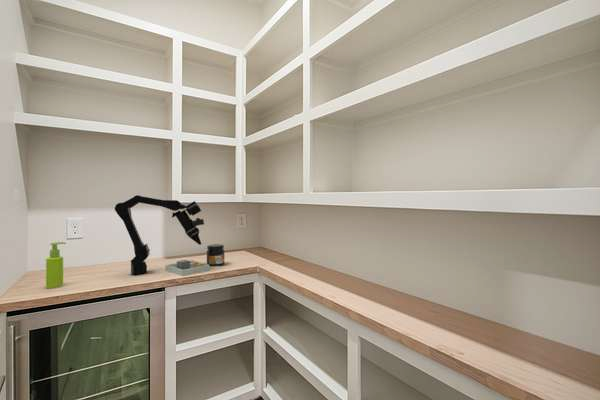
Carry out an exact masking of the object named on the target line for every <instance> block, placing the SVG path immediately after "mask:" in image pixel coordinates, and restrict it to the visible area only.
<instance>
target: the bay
mask: <svg viewBox="0 0 600 400" xmlns="http://www.w3.org/2000/svg"><path fill="white" fill-rule="evenodd" d="M189 261H190V263H194V268H190V269H185V270H182V269H179V268H177V262H175V263H170V264H166V265H165V266H164V267H165V269H164V271H165V272H168V273H171V274H173V275H178V276H180V277H185V276H191V275H195V274H199V273H204V272H208V271H210V266H209V264H207V263H204V262H199V261H195V260H189Z"/></svg>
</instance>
